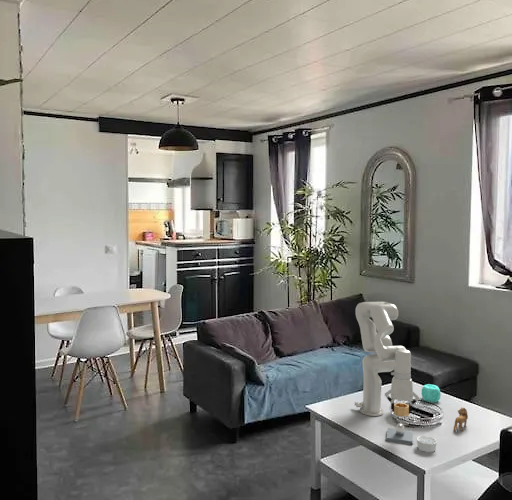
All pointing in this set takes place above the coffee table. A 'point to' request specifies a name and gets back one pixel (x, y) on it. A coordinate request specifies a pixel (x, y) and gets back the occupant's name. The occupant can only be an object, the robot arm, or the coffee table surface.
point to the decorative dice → (431, 393)
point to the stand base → (400, 439)
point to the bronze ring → (401, 409)
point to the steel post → (399, 429)
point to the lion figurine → (461, 419)
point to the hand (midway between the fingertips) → (401, 411)
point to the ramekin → (426, 443)
